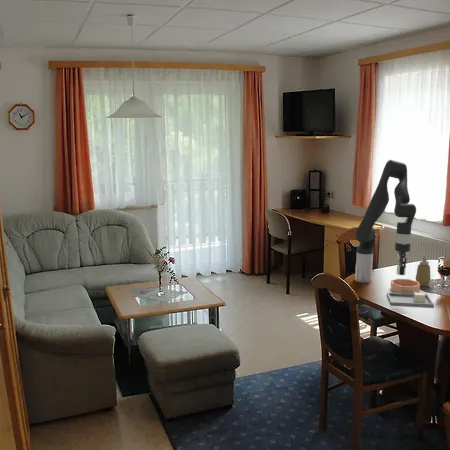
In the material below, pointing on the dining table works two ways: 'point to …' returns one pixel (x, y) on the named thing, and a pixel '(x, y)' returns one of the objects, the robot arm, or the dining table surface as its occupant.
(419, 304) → the parts tray
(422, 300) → the sandy stone
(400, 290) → the bowl
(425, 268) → the squeeze bottle
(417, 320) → the dining table surface
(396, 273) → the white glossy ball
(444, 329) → the dining table surface
